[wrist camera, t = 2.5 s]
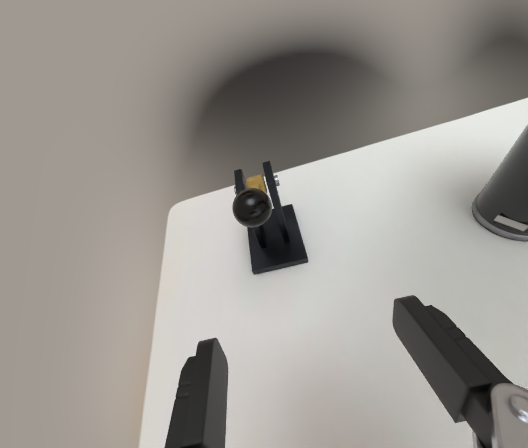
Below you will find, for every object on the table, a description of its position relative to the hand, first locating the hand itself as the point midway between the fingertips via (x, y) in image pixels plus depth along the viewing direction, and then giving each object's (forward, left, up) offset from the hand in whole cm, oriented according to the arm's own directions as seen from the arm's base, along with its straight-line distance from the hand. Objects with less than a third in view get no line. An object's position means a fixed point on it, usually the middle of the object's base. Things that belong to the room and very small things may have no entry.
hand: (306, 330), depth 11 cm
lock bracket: (-12, -18, -23) cm, 32 cm away
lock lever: (-8, -14, -9) cm, 18 cm away
